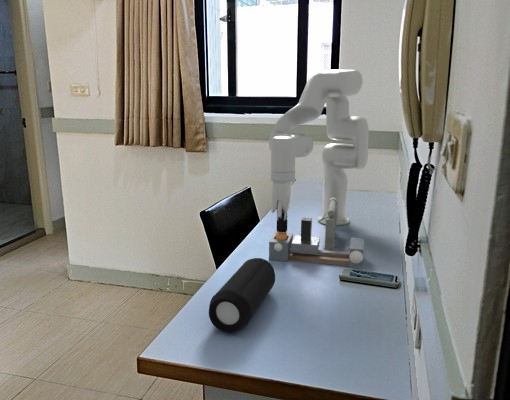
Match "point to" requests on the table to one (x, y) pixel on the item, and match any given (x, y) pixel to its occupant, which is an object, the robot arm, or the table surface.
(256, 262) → the portable speaker
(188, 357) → the table surface
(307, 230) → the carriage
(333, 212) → the geiger counter
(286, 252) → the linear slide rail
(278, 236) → the button
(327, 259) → the rail base
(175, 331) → the table surface
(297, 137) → the robot arm
